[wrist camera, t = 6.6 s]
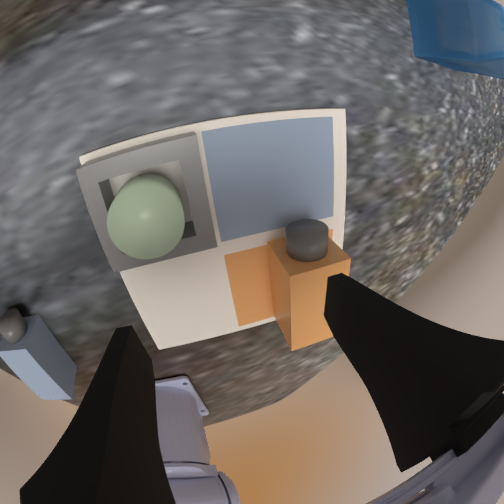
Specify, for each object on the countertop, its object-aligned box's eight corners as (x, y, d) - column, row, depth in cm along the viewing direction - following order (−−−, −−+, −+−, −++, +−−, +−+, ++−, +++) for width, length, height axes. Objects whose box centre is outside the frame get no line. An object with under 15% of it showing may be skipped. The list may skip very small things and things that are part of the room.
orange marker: (317, 301, 23) (339, 333, 19) (273, 315, 22) (291, 351, 19) (320, 209, 18) (353, 236, 15) (264, 222, 17) (288, 254, 14)
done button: (189, 230, 14) (192, 249, 13) (126, 246, 14) (121, 267, 12) (174, 166, 12) (174, 176, 11) (106, 185, 12) (96, 198, 10)
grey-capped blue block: (77, 365, 20) (72, 399, 17) (48, 367, 20) (42, 399, 16) (30, 299, 16) (14, 334, 13) (2, 306, 15) (-14, 338, 12)
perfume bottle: (414, 56, 14) (550, 79, 4) (404, -7, 10) (530, -11, 1) (454, 70, 15) (564, 99, 5) (446, 14, 12) (553, 26, 2)
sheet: (334, 296, 24) (337, 300, 23) (158, 344, 21) (159, 349, 21) (340, 108, 15) (345, 108, 15) (82, 154, 12) (79, 156, 12)
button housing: (212, 231, 17) (217, 247, 15) (118, 255, 16) (113, 273, 14) (193, 131, 13) (196, 135, 12) (86, 161, 12) (75, 169, 11)
